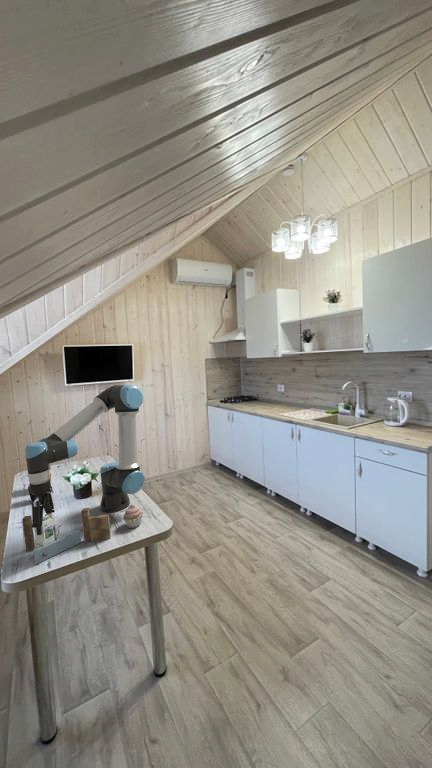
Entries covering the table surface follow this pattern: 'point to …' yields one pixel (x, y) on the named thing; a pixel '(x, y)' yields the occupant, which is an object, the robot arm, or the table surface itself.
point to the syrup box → (47, 531)
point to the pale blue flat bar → (56, 547)
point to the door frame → (92, 528)
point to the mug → (33, 494)
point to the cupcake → (133, 516)
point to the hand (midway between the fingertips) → (46, 534)
